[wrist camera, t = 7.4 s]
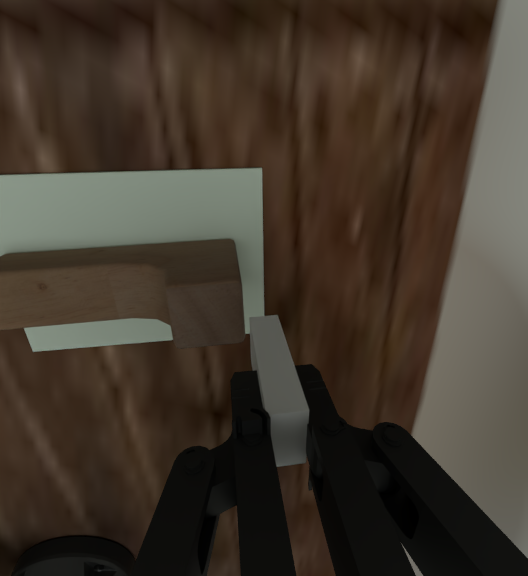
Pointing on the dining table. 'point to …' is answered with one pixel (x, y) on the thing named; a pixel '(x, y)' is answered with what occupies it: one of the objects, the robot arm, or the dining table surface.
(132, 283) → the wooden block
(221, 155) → the dining table surface
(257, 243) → the mat
